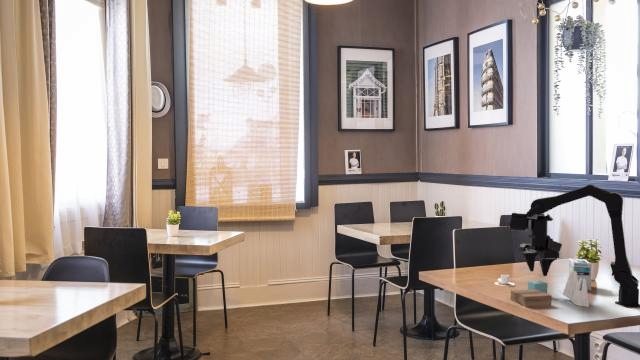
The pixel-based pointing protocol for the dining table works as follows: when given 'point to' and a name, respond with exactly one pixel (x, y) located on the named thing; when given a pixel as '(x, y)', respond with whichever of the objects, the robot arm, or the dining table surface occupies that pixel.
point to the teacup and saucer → (504, 280)
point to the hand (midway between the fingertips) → (538, 273)
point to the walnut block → (531, 298)
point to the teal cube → (537, 286)
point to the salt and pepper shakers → (576, 290)
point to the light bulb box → (581, 270)
